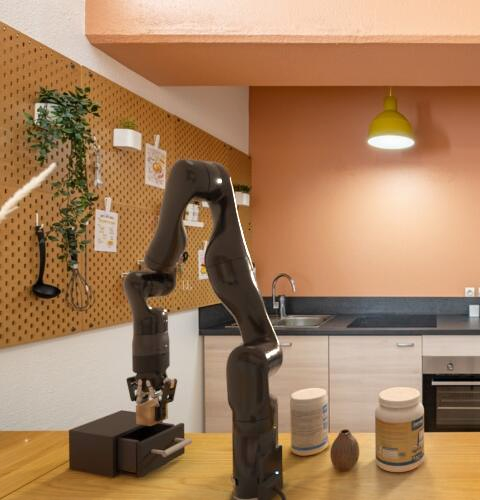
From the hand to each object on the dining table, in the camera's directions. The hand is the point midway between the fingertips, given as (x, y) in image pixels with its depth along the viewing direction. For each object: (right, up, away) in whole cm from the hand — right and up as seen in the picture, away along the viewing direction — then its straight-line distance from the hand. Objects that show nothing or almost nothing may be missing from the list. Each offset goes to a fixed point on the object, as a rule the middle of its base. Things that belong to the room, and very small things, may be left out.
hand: (152, 419), depth 100 cm
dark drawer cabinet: (-11, -12, +3) cm, 16 cm away
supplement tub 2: (+61, -11, +1) cm, 62 cm away
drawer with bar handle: (-1, -11, 0) cm, 11 cm away
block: (0, -1, 0) cm, 1 cm away
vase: (+48, -11, -1) cm, 49 cm away
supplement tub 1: (+36, -12, +8) cm, 39 cm away
